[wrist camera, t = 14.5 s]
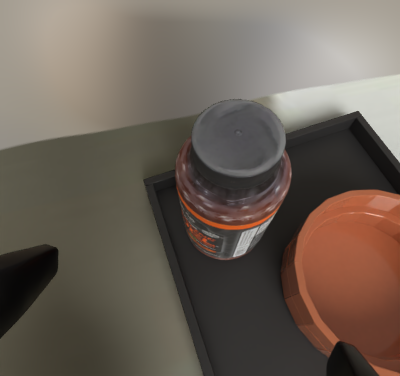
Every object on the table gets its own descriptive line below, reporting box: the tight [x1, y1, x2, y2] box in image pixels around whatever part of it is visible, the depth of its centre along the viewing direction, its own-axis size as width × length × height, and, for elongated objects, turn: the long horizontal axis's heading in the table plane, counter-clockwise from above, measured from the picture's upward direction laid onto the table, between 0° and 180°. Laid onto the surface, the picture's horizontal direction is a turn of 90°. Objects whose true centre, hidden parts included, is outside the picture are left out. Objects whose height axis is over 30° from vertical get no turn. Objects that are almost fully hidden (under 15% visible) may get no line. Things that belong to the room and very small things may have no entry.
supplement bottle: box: [175, 99, 292, 260], centre depth 17 cm, size 6×6×11 cm
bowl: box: [281, 190, 400, 376], centre depth 18 cm, size 11×11×4 cm
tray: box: [144, 111, 400, 376], centre depth 20 cm, size 19×19×2 cm
